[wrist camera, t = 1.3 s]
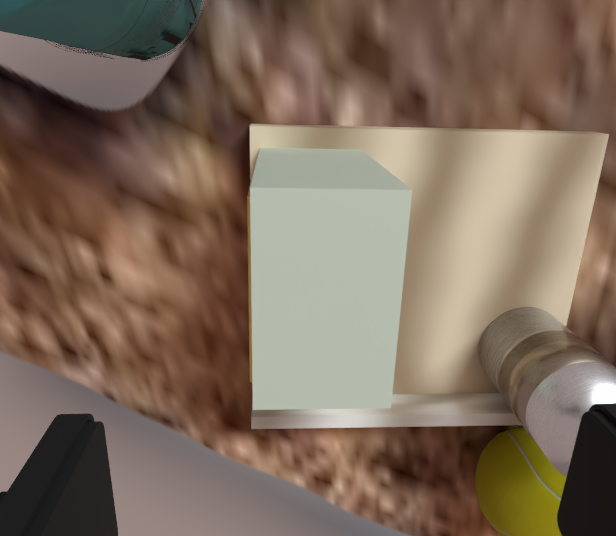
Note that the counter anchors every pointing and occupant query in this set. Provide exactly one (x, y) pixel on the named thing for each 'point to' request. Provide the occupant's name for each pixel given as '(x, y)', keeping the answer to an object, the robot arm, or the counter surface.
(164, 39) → the beverage bottle
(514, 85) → the counter surface
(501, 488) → the tennis ball
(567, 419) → the metal tin
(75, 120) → the counter surface
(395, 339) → the carton
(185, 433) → the counter surface
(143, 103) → the counter surface
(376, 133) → the shelf board
